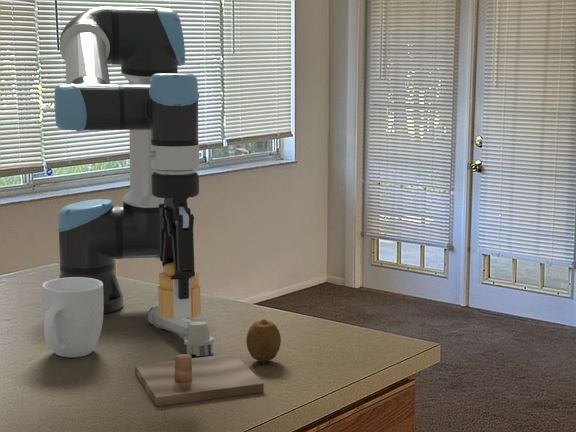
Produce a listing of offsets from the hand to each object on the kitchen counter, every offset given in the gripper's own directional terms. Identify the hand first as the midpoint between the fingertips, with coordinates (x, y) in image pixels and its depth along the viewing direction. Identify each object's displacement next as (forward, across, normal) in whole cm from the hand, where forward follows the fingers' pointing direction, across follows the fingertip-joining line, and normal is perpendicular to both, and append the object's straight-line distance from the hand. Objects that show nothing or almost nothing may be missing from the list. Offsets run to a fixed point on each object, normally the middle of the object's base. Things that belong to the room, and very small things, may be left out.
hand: (177, 311), depth 145 cm
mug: (+13, -24, -14) cm, 31 cm away
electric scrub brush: (+14, -26, +6) cm, 30 cm away
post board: (+13, -2, +4) cm, 14 cm away
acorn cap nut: (0, 0, 0) cm, 1 cm away
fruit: (+13, -8, +18) cm, 24 cm away
